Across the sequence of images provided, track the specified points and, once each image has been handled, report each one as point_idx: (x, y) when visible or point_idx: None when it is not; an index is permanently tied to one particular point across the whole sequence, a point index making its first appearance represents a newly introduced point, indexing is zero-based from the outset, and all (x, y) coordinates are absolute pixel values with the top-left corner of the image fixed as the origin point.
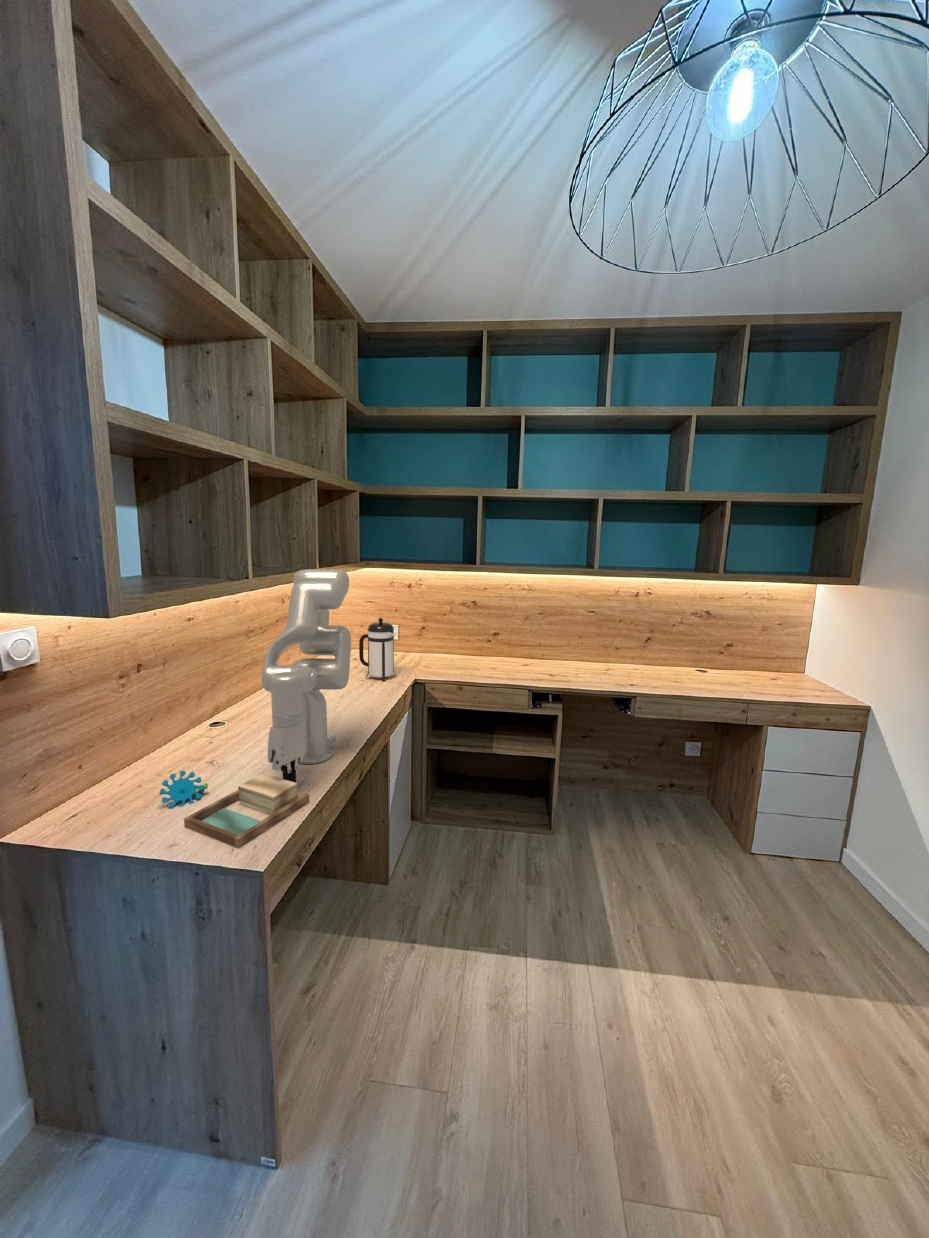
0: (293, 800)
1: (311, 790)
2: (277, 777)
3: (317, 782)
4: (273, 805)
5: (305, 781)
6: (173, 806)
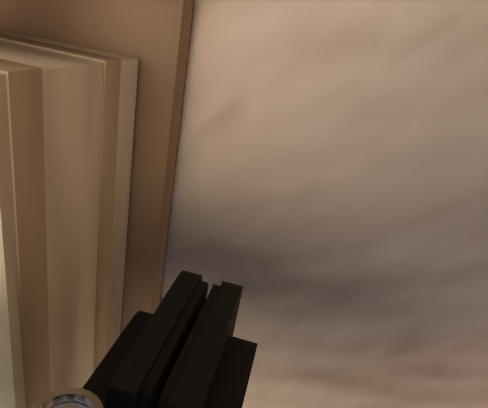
0: None
1: (317, 388)
2: (7, 342)
3: (457, 390)
4: None
5: (463, 298)
6: None
